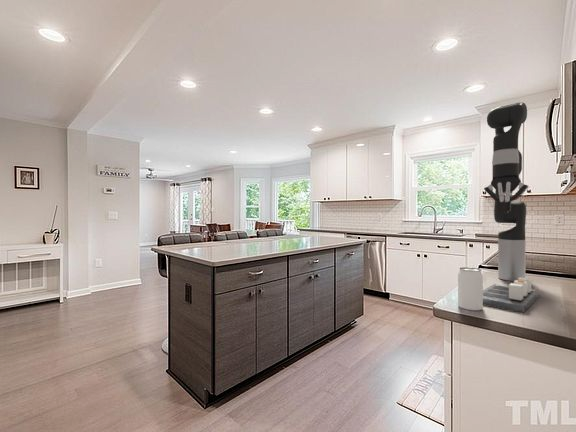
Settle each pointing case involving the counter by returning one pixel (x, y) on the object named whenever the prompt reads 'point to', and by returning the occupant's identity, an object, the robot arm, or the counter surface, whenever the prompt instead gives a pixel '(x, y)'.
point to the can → (470, 289)
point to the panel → (500, 298)
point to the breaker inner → (528, 283)
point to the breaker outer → (515, 291)
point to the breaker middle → (525, 286)
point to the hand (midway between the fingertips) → (505, 212)
